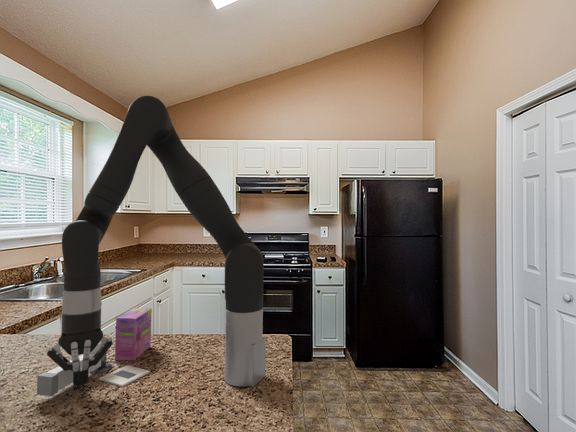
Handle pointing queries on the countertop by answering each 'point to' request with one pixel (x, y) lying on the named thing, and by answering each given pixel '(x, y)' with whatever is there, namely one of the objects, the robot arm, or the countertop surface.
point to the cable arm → (60, 377)
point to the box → (133, 334)
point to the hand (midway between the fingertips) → (80, 385)
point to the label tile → (124, 375)
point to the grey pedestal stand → (103, 366)
